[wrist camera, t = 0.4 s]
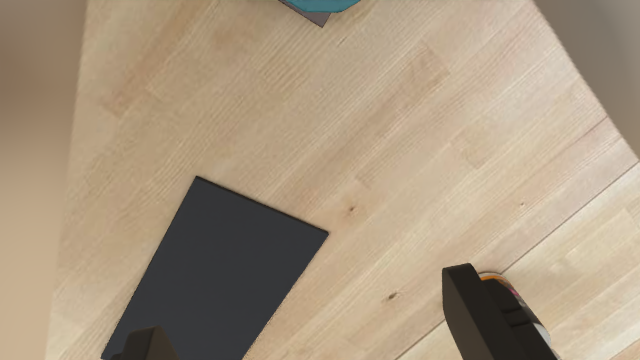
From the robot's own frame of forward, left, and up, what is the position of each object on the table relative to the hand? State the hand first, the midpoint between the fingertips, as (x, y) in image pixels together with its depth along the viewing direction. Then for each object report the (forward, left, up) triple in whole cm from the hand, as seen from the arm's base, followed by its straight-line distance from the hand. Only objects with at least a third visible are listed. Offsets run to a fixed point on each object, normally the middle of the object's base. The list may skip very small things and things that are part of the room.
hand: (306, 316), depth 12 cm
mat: (+4, -18, -21) cm, 28 cm away
